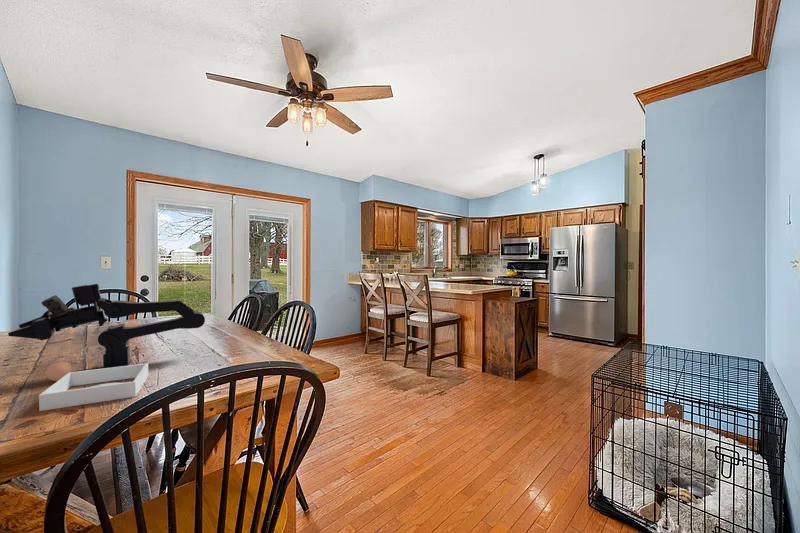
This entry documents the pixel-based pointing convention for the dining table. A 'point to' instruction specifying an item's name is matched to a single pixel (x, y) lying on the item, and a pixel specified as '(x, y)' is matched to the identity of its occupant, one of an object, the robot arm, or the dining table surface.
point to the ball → (58, 370)
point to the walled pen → (98, 393)
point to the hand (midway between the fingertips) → (14, 330)
